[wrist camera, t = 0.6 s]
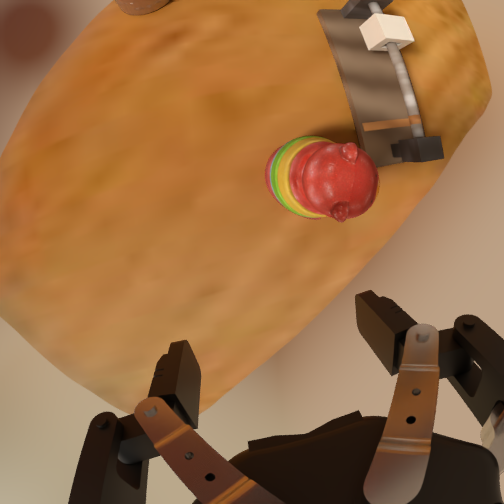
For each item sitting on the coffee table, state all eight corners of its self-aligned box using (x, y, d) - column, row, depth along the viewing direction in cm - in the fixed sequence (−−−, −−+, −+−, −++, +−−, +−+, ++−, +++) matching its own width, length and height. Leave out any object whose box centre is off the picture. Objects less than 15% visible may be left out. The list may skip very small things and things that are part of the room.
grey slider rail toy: (316, 13, 30) (336, -16, 21) (379, 16, 30) (407, -6, 21) (364, 168, 37) (399, 170, 29) (423, 157, 38) (461, 159, 29)
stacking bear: (323, 221, 39) (388, 261, 22) (254, 205, 38) (278, 235, 21) (341, 149, 36) (418, 142, 19) (273, 128, 35) (312, 96, 18)
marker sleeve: (359, 27, 27) (374, 13, 22) (386, 29, 27) (404, 17, 22) (368, 50, 28) (385, 38, 23) (395, 51, 28) (414, 41, 23)
